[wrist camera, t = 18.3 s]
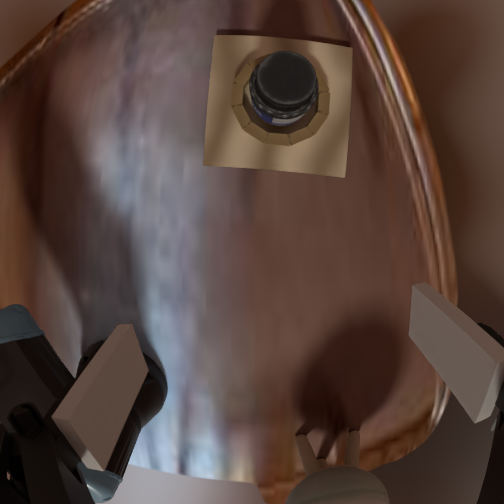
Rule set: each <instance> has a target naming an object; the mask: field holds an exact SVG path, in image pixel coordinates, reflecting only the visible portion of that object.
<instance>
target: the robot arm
mask: <svg viewBox="0 0 504 504" xmlns="http://www.w3.org/2000/svg"><path fill="white" fill-rule="evenodd" d="M44 334H45V333H44V331H43V330H41V329H40V328H39V326H38V325H37V323H36V322H35V320H34V319H33V317H32V316H31V314H30V312H29V311H28V310H27V309H26V308H25V307H24V306H22V305H19V304H12V305H10V306H7V307H5V308H3V309H1V310H0V504H95V503H103V502H106V501H109V500H110V499H112V497H113V496H114V494H115V492H116V490H117V488H118V486H119V484H120V483H121V482H122V478H123V475H124V473H125V470H126V467H127V465H128V462H129V459H130V457H131V454H132V451H133V449H134V446H135V444H136V441H137V438H138V436H139V433H140V431H141V429H142V428H143V427H144V426H145V425H146V424H147V423H148V422H149V421H150V420H151V419H152V418H153V417H154V416H155V415H156V414H157V413H158V412H159V411H160V410H161V409H162V407H163V404H164V402H165V399H166V397H167V383H166V380H165V378H164V375H163V374H162V372H161V370H160V369H159V367H158V366H157V365H156V364H155V363H154V362H153V361H152V360H151V359H150V358H149V357H148V356H147V355H145V354H144V353H143V352H142V351H141V348H140V345H139V342H138V339H137V337H136V334H135V331H134V328H133V325H132V323H131V324H118V325H117V327H116V328H115V329H114V331H113V332H112V333H111V335H110V336H109V337H108V339H107V340H105V341H99V342H96V343H94V344H93V345H91V346H90V347H89V348H88V349H87V351H86V352H85V353H84V354H83V356H82V357H81V359H80V362H79V365H78V369H77V373H76V378H75V379H74V377H73V376H72V375H71V373H70V372H69V370H68V369H67V368H66V366H65V365H64V363H63V362H62V361H61V359H60V358H59V356H58V355H57V353H56V352H55V351H54V349H53V348H52V346H51V345H50V343H49V341H48V340H47V338H46V337H45V335H44ZM409 337H410V338H411V339H412V340H413V342H414V343H415V344H416V345H417V347H418V348H419V349H420V350H421V352H422V353H423V354H424V356H425V357H426V358H427V359H428V361H429V362H430V363H431V365H432V366H433V367H434V368H435V370H436V371H437V372H438V374H439V375H440V376H441V378H442V379H443V380H444V382H445V383H446V384H447V386H448V387H449V388H450V390H451V391H452V392H453V394H454V395H455V397H456V398H457V399H458V401H459V402H460V403H461V405H462V406H463V407H464V409H465V410H466V412H467V413H468V415H469V416H470V417H471V419H472V420H473V422H474V423H477V422H479V421H481V420H483V419H485V418H487V417H489V416H490V415H491V413H492V411H493V408H494V406H495V404H496V406H497V407H498V408H499V409H500V411H499V413H498V415H497V418H496V420H495V422H494V424H493V426H492V428H491V431H493V430H494V428H495V433H494V438H493V444H492V448H491V453H490V458H489V462H488V466H487V470H486V474H485V478H484V481H483V485H482V488H481V492H480V495H479V498H478V501H477V504H504V340H503V338H502V337H501V336H500V335H498V334H497V332H495V331H494V330H493V329H492V328H491V327H489V326H487V325H484V324H482V323H477V324H476V323H475V322H474V321H473V320H471V319H470V318H469V317H468V316H467V315H466V314H464V313H463V312H462V311H461V310H460V309H458V308H457V307H456V306H455V305H454V304H452V303H451V302H450V301H449V300H447V299H446V298H445V297H444V296H442V295H441V294H440V293H439V292H437V291H436V290H435V289H434V288H432V287H431V286H430V285H429V284H427V283H426V282H425V283H420V284H416V285H412V301H411V315H410V327H409ZM495 426H496V427H495ZM7 472H8V473H9V474H10V480H8V479H7Z"/></svg>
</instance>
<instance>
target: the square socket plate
mask: <svg viewBox="0 0 504 504" xmlns="http://www.w3.org/2000/svg"><path fill="white" fill-rule="evenodd" d="M278 51H292V52H296V53H298V54H300V55H302V56H304V57H305V58H306V59H307V60H309V62H310V63H311V64H312V66H313V67H314V69H315V72H316V76H317V79H318V84H319V92H318V96H317V100H316V101H315V103H314V105H313V106H312V107H311V108H310V109H309V110H308V111H307V112H306V113H305V114H304V115H303V116H302V117H301V118H300V119H299V120H298V121H297V122H295V123H293V124H291V125H287V126H274V125H270V124H268V123H266V122H265V121H263V120H262V119H261V118H260V117H259V116H258V115H257V114H256V113H255V111H254V109H253V106H252V101H251V96H250V91H249V80H250V76H251V74H252V71H253V70H254V69H255V67H256V66H257V65H258V64H259V63H260V62H261V61H262V60H264V59H265V58H266V57H267V56H268V55H270V54H272V53H275V52H278ZM351 85H352V48H349V47H344V46H339V45H333V44H327V43H320V42H313V41H306V40H298V39H288V38H278V37H264V36H244V35H215V36H214V45H213V54H212V63H211V73H210V83H209V94H208V106H207V118H206V131H205V145H204V161H203V166H222V167H239V168H254V169H267V170H279V171H289V172H300V173H309V174H318V175H327V176H335V177H343V178H345V172H346V161H347V150H348V137H349V123H350V106H351Z"/></svg>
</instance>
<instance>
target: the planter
mask: <svg viewBox="0 0 504 504" xmlns="http://www.w3.org/2000/svg"><path fill="white" fill-rule="evenodd" d="M295 441H296V445H297V448H298V451H299V454H300V457H301V460H302V463H303V466H304V469H305V472H306V475H307V476H306V477H305V478H304V479H303V480H302V481H301V482H300V483H299V484H298V485H297V486H296V487H295V488H294V489H293V490H292V491H291V493H290V494H289V496H288V498H287V500H286V503H285V504H389V499H388V495H387V492H386V490H385V487H384V486H383V484H382V483H381V481H380V480H379V479H377V477H375V476H374V475H372V474H371V473H369V472H367V471H365V470H362V469H359V468H358V465H359V445H360V433H359V432H358V431H352V432H350V433H349V435H348V441H347V447H346V453H345V460H344V465H335V466H330V467H328V464H327V461H326V460H325V459H318V460H317V458H316V456H315V454H314V452H313V449H312V447H311V445H310V443H309V441H308V439H307V437H306V436H305V435H303V434H301V435H298V436H296V438H295Z"/></svg>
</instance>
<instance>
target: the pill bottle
mask: <svg viewBox="0 0 504 504" xmlns="http://www.w3.org/2000/svg"><path fill="white" fill-rule="evenodd" d="M249 91H250V96H251V101H252V106H253V109H254V111H255V113H256V114H257V115H258V116H259V117H260V118H261V119H262V120H263V121H265V122H266V123H268V124H270V125H274V126H287V125H291V124H293V123H295V122H297V121H298V120H299V119H300V118H301V117H302V116H303V115H304V114H305V113H306V112H307V111H308V110H309V109H310V108H311V107H312V106H313V105H314V103H315V101H316V100H317V96H318V92H319V84H318V79H317V76H316V72H315V69H314V67H313V66H312V64H311V63H310V62H309V60H307V59H306V58H305V57H304V56H302V55H300V54H298V53H296V52H292V51H278V52H275V53H272V54H270V55H268V56H267V57H266V58H265V59H264V60H262V61H261V62H260V63H259V64H258V65H257V66H256V67H255V69H254V70H253V71H252V74H251V76H250V80H249Z"/></svg>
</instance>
